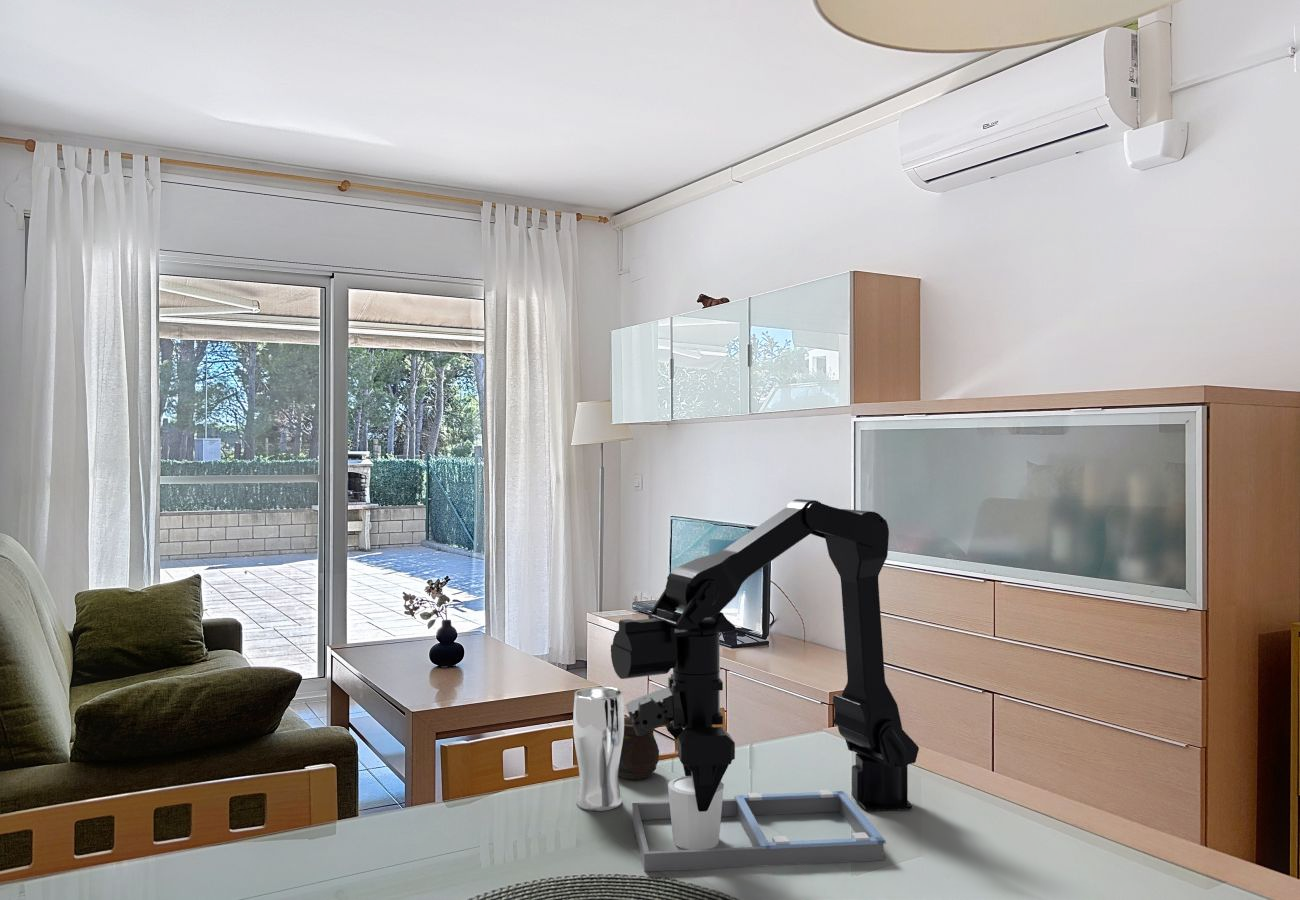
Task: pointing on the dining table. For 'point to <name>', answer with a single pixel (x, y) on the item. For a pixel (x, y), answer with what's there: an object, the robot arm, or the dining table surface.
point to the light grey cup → (693, 816)
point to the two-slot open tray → (764, 853)
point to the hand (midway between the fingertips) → (696, 797)
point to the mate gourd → (637, 753)
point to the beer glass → (598, 746)
